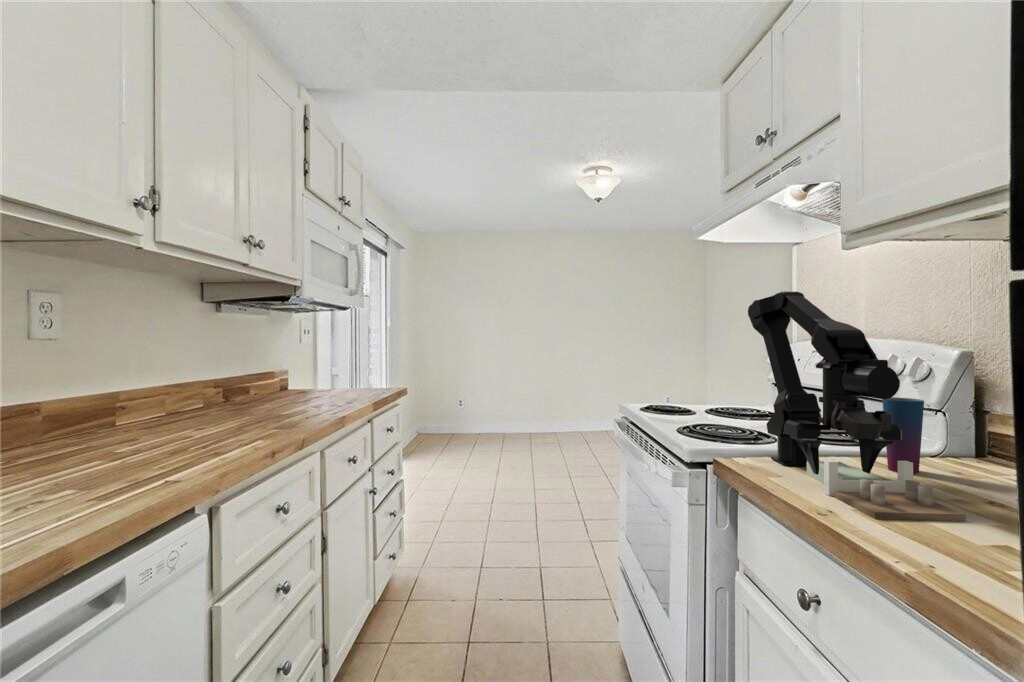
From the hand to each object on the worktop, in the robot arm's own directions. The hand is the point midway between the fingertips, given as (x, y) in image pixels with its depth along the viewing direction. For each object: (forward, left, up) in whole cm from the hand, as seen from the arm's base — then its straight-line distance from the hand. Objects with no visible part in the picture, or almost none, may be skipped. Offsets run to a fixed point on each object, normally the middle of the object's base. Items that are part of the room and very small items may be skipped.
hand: (840, 474), depth 90 cm
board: (0, 0, -2) cm, 2 cm away
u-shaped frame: (+8, 0, -2) cm, 8 cm away
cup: (-10, +18, -2) cm, 21 cm away
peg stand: (+14, 0, -2) cm, 14 cm away
